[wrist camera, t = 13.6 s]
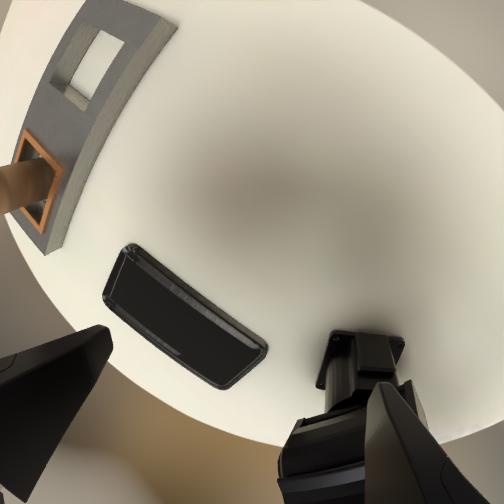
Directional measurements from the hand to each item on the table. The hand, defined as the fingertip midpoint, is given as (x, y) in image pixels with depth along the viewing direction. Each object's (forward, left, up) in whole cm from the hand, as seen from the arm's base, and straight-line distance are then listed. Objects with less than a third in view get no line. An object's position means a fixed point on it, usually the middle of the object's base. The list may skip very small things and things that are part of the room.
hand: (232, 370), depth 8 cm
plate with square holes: (+8, +19, -13) cm, 24 cm away
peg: (+3, +22, -13) cm, 26 cm away
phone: (-9, +8, -14) cm, 18 cm away
